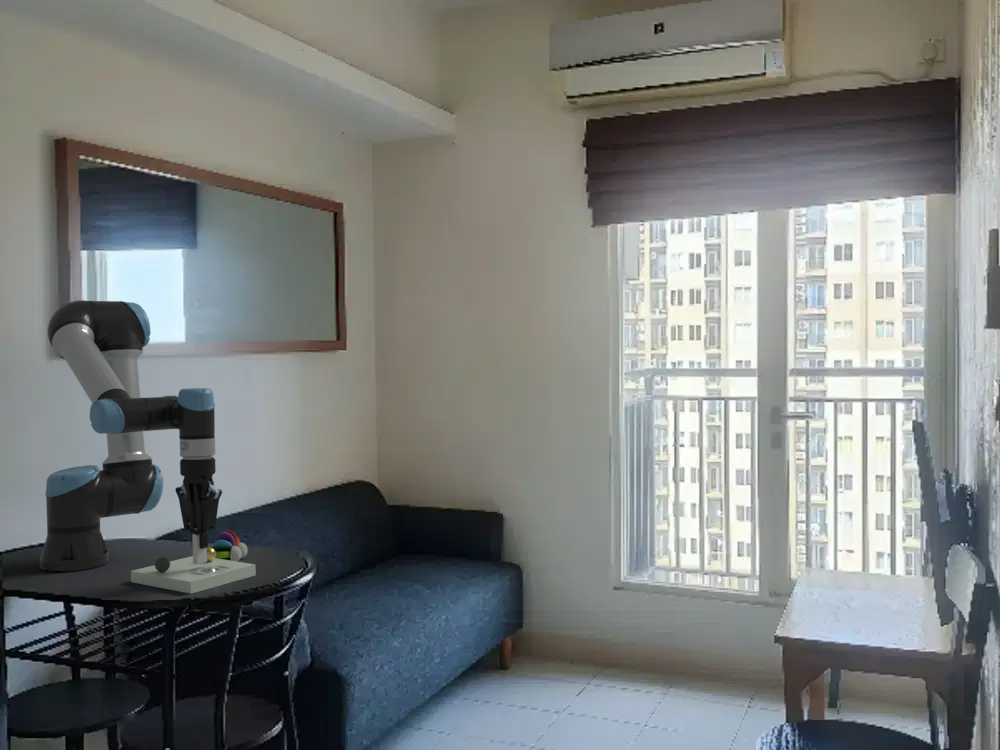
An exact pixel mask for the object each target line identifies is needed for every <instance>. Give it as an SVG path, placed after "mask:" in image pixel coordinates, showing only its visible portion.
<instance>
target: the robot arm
mask: <svg viewBox="0 0 1000 750" xmlns="http://www.w3.org/2000/svg"><path fill="white" fill-rule="evenodd" d="M151 332H152V331H151V323H150V320H149V317H148V315H147V312H146V311H145V309H144V308H143V307H142V306H141V305H140V304H138V303H135V302H129V301H122V300H120V301H119V300H118V301H116V300H84V299H83V300H79V299H78V300H74V301H70V302H68V303H65V304H63V305H62V306H60V307H59V308H58V309H57V310H56V311H55V312H54V313H53V315H52V316H51V318H50V320H49V323H48V326H47V338H48V339H47V340H48V341H49V344H50V345H51V347H52V349H53V351H54V352H55V353H56V354H57V355H58V356H61V357H63V358H64V359H65V362H66V363H67V365H68V366H69V368H70V370H71V371H72V373H73V375H74V376H75V377H76V379H77V381H78V383H79V384H80V386H81V387H82V389H83V391H84V393H85V394H86V396H87V397H88V398H89V400H90V402H91V406H90V408H89V421H90V423H91V425H90V426H91V428H92V429H93V431H94V432H95V433H98V434H106V442H107V443H106V444H107V457H106V458H105V460H103V462H102V470H100V468H99V466H97V465H94V464H93V465H91V464H90V465H80V466H73V467H69V468H63V469H60V470H57V471H55V472H52V473H51V474H50V475H48V477H47V478H46V487H45V498H46V501H45V502H46V527H47V528H46V529H47V530H46V531H47V534H46V538H45V541H44V545H43V548H42V552H41V555H40V557H39V569H40V568H41V569H40V570H42V569H43V570H42V571H45V570H48V571H47V572H54V571H62V572H75V571H83V570H90V569H95V568H98V567H101V566H105V565H106V564H108V563H109V561H110V557H109V555H110V553H109V550H108V548H107V545H106V542H105V540H104V536H103V533H102V532H101V519H103V518H109V517H110V518H111V517H117V516H126V515H134V514H135V515H136V514H140V513H144V512H149V511H150V512H151V511H152V510H154V509H155V508H156V507H157V505H158V504H159V503H160V501H161V499H162V495H163V490H164V489H163V488H164V478H163V473H162V470H161V468H160V467H159V466H158V465H156V464H153V457H152V456H149V454H148V453H146V451H145V450H146V449H145V441H144V440H145V439H144V432H149V431H151V432H153V431H164V430H178V432H179V434H178V435H179V438H178V439H179V456H180V457H181V459H180V460H179V473H180V475H181V476H182V477H183V481H182V484H181V485H180V486H178V487H175V489H174V491H175V494H176V495H177V497H178V501H179V509H180V513H181V519H182V524H183V525H182V526H183V529H184V531H188V533H190V535H191V538H190V540H191V541H190V542H191V543H190V544H191V548H192V556H193V564H200V563H204V562H207V548H209V533H210V532H214V531H215V529H216V525H217V518H218V517H217V516H218V509H219V502H220V498H221V496H222V494H223V490H222V489H221V488H220V489H217V488H216V487H215V486H214V485H215V482H214V479H213V475H215V474H216V470H217V469H216V458H215V457H214V456H215V455H216V437H215V433H216V432H215V426H216V425H215V419H216V418H215V407H216V406H215V401H214V392H213V390H212V389H211V388H208V387H206V388H205V387H204V388H202V387H201V388H200V387H198V388H196V387H195V388H194V387H193V388H182V389H180V390H179V391H178V395H164V396H156V397H154V396H152V397H151V396H150V397H141V391H140V389H141V388H140V379H139V378H140V377H139V368H138V367H139V365H138V359H139V358H140V357H141V356H142V354H143V353H144V350H143V349H144V347H146V346H147V345H148V344H149V342H150V339H151V338H150V336H151Z"/></svg>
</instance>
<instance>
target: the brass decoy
mask: <svg viewBox="0 0 1000 750" xmlns="http://www.w3.org/2000/svg"><path fill="white" fill-rule="evenodd" d="M210 547H211V546H208V548H207V561H208V562H209V561H212V560H214V559H215V557H216V551H215V550H214V549H213V548H210Z"/></svg>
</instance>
